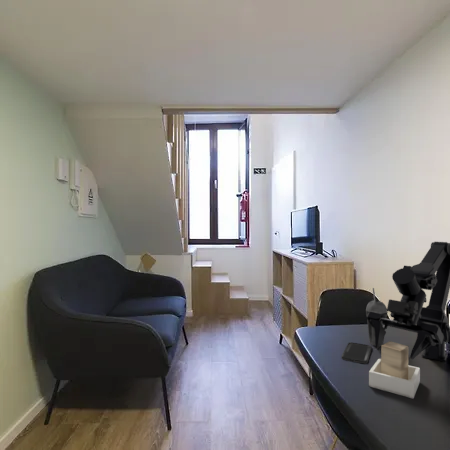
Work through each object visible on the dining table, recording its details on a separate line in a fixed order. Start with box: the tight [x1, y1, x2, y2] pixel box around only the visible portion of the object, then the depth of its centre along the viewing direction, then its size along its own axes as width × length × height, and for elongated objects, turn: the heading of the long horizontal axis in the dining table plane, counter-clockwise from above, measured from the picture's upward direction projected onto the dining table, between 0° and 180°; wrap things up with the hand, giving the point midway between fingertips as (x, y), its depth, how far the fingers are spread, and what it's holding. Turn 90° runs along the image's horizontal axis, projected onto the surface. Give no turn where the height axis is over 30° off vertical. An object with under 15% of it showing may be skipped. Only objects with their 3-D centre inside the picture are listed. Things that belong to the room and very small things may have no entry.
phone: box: [341, 342, 373, 364], centre depth 115 cm, size 8×1×15 cm
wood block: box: [380, 340, 409, 380], centre depth 93 cm, size 5×5×10 cm
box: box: [368, 358, 421, 400], centre depth 93 cm, size 11×11×4 cm
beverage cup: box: [365, 287, 389, 347], centre depth 123 cm, size 7×7×20 cm
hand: (393, 353), depth 93 cm, fingers open, 9 cm apart
